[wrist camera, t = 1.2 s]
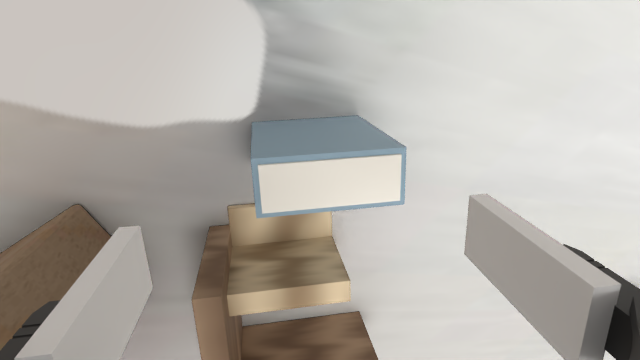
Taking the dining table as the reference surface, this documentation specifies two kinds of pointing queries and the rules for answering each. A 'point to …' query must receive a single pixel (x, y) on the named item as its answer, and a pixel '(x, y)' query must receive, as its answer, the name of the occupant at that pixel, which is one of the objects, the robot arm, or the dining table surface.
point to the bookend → (283, 262)
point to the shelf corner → (272, 338)
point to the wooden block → (46, 266)
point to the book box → (324, 166)
